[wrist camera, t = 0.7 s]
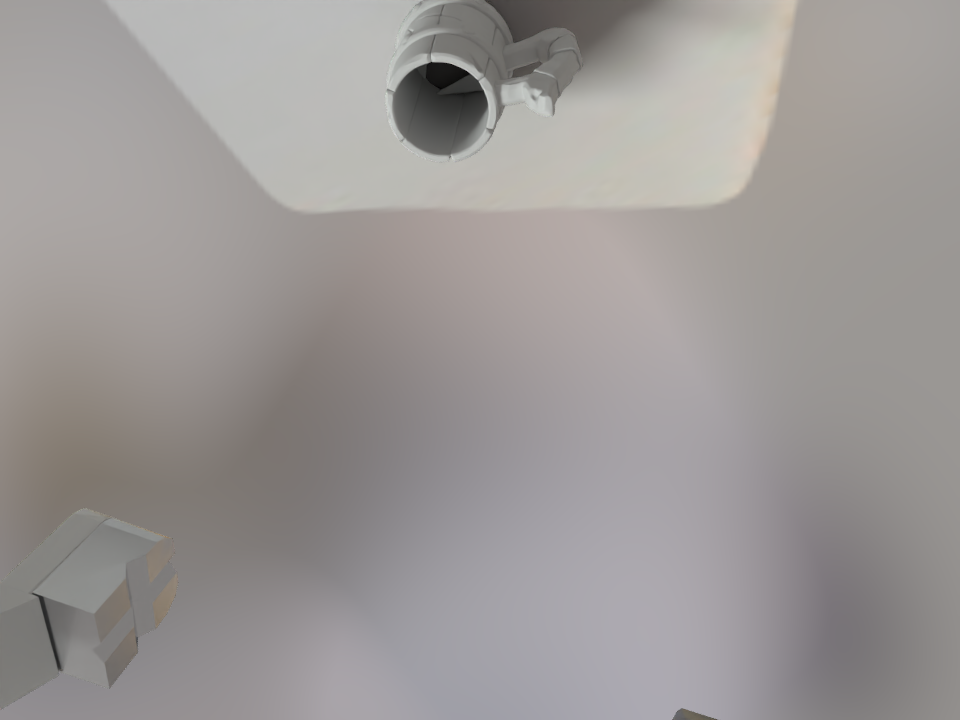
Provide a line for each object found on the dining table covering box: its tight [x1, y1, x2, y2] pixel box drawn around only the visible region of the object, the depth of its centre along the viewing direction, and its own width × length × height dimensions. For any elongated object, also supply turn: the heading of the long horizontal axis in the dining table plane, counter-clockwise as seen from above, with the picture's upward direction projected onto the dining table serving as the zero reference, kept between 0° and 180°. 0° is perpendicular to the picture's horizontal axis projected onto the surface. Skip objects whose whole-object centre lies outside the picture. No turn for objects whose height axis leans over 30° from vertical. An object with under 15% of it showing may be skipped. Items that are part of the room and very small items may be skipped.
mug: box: [385, 0, 583, 162], centre depth 43 cm, size 8×12×12 cm, turn 103°
